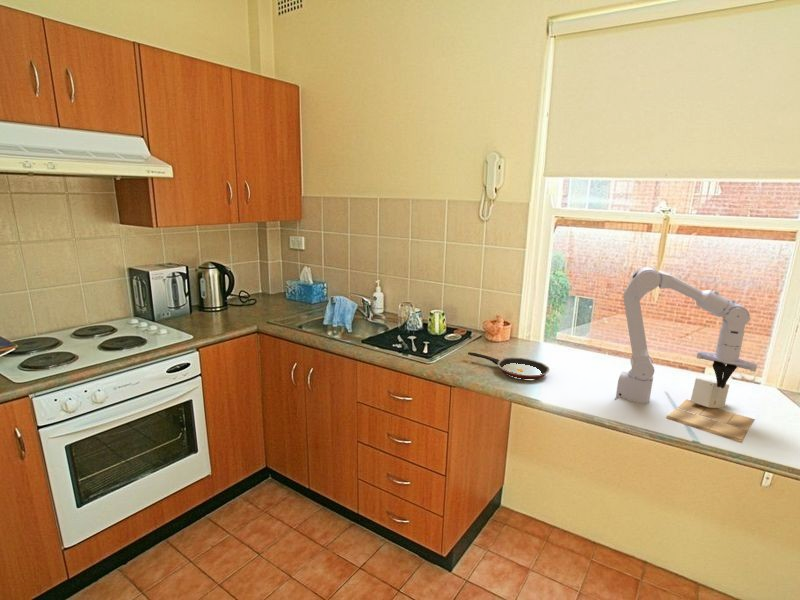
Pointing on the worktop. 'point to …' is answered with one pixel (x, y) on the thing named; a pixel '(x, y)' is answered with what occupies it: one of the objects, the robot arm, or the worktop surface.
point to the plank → (707, 425)
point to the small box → (709, 393)
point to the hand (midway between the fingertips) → (720, 386)
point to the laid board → (717, 414)
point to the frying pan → (501, 363)
